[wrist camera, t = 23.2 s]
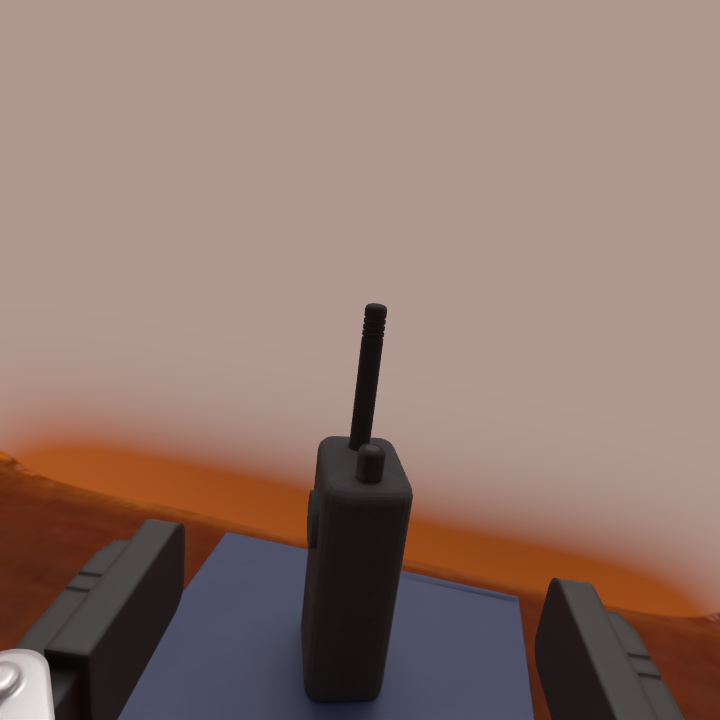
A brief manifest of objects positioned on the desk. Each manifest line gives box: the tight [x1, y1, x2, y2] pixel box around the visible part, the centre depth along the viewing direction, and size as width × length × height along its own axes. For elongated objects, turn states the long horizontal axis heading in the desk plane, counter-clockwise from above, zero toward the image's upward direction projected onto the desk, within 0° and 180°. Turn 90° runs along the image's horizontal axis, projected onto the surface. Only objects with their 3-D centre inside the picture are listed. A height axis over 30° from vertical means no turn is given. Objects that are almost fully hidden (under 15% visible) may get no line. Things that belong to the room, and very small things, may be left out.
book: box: [118, 532, 534, 720], centre depth 23 cm, size 16×12×3 cm
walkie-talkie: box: [301, 303, 413, 702], centre depth 21 cm, size 5×3×15 cm
